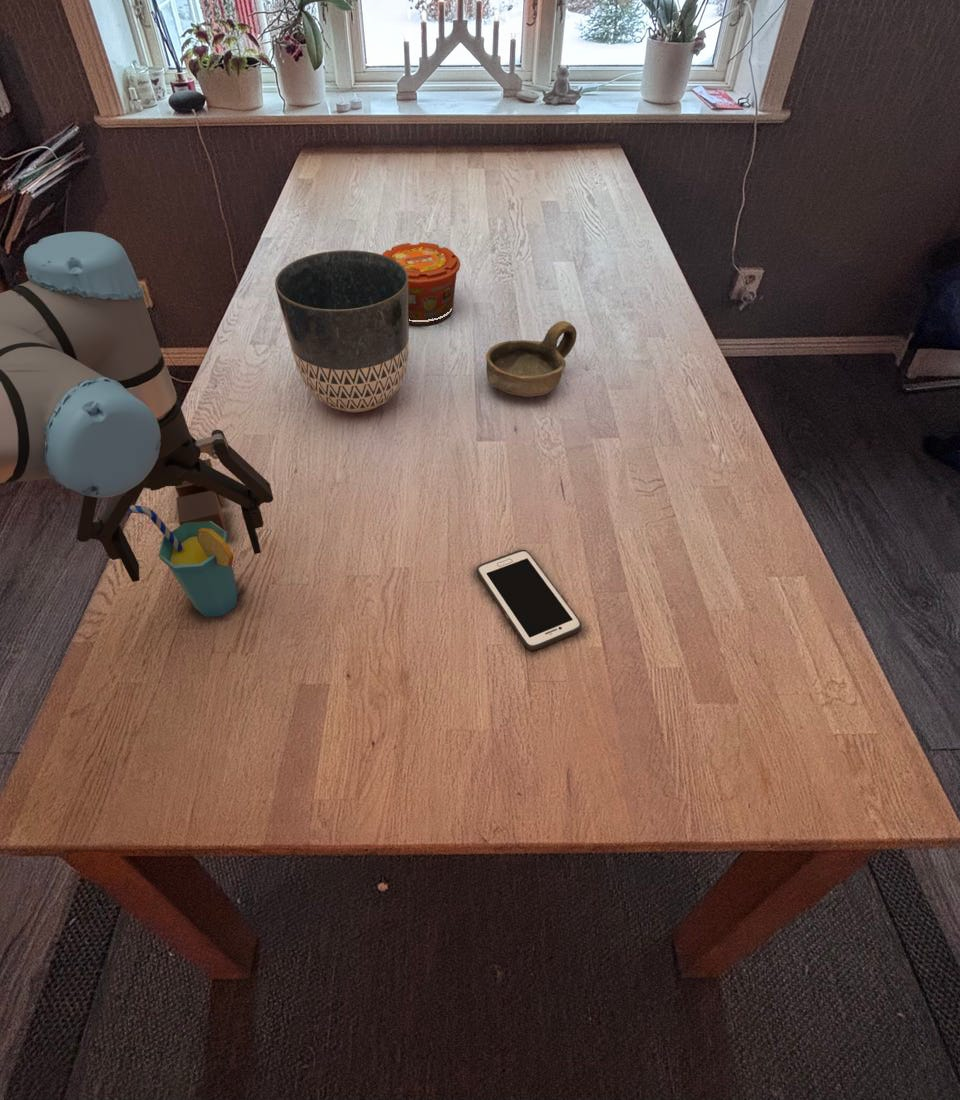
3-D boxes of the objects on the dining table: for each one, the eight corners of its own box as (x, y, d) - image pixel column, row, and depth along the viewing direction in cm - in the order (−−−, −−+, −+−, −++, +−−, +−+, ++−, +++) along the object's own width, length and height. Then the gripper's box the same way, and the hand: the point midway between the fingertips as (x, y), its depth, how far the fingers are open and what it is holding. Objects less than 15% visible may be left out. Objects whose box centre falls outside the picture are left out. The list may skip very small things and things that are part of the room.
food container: (412, 339, 130) (409, 285, 122) (366, 307, 138) (360, 254, 130) (476, 314, 137) (477, 261, 129) (428, 285, 145) (426, 233, 137)
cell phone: (525, 552, 92) (525, 547, 91) (583, 630, 83) (584, 626, 83) (474, 570, 90) (474, 565, 89) (529, 654, 81) (529, 649, 80)
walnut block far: (186, 514, 96) (175, 488, 92) (183, 492, 99) (173, 465, 95) (222, 506, 97) (213, 480, 94) (219, 484, 100) (209, 458, 97)
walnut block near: (190, 548, 92) (178, 522, 88) (187, 524, 95) (176, 497, 91) (228, 539, 93) (218, 513, 89) (224, 515, 96) (214, 489, 92)
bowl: (468, 379, 121) (469, 328, 113) (547, 353, 127) (552, 303, 120) (512, 419, 113) (515, 366, 106) (593, 388, 120) (602, 337, 112)
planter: (403, 440, 109) (394, 315, 93) (285, 429, 110) (255, 304, 94) (424, 373, 122) (418, 254, 106) (318, 365, 123) (297, 245, 107)
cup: (144, 610, 84) (96, 524, 73) (178, 565, 89) (139, 479, 78) (245, 636, 82) (212, 551, 71) (275, 588, 87) (248, 503, 76)
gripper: (264, 366, 70) (298, 515, 86) (-6, 409, 64) (83, 562, 79) (275, 406, 66) (309, 556, 81) (-15, 456, 59) (81, 609, 74)
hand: (197, 559), depth 80 cm, fingers open, 13 cm apart
